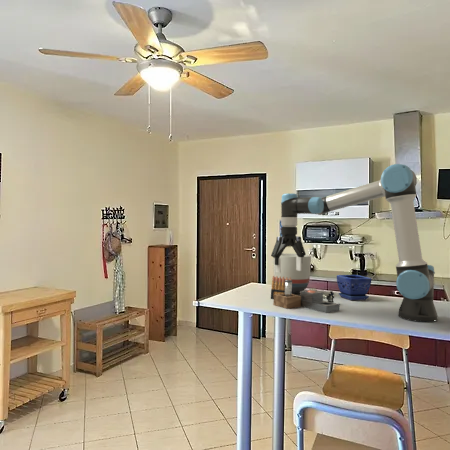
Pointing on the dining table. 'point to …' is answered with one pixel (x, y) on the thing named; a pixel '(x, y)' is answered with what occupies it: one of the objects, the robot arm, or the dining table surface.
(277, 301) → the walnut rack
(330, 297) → the valve
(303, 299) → the socket block
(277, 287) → the ammunition clip
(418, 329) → the dining table surface
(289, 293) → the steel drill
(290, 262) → the planter
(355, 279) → the flower pot
